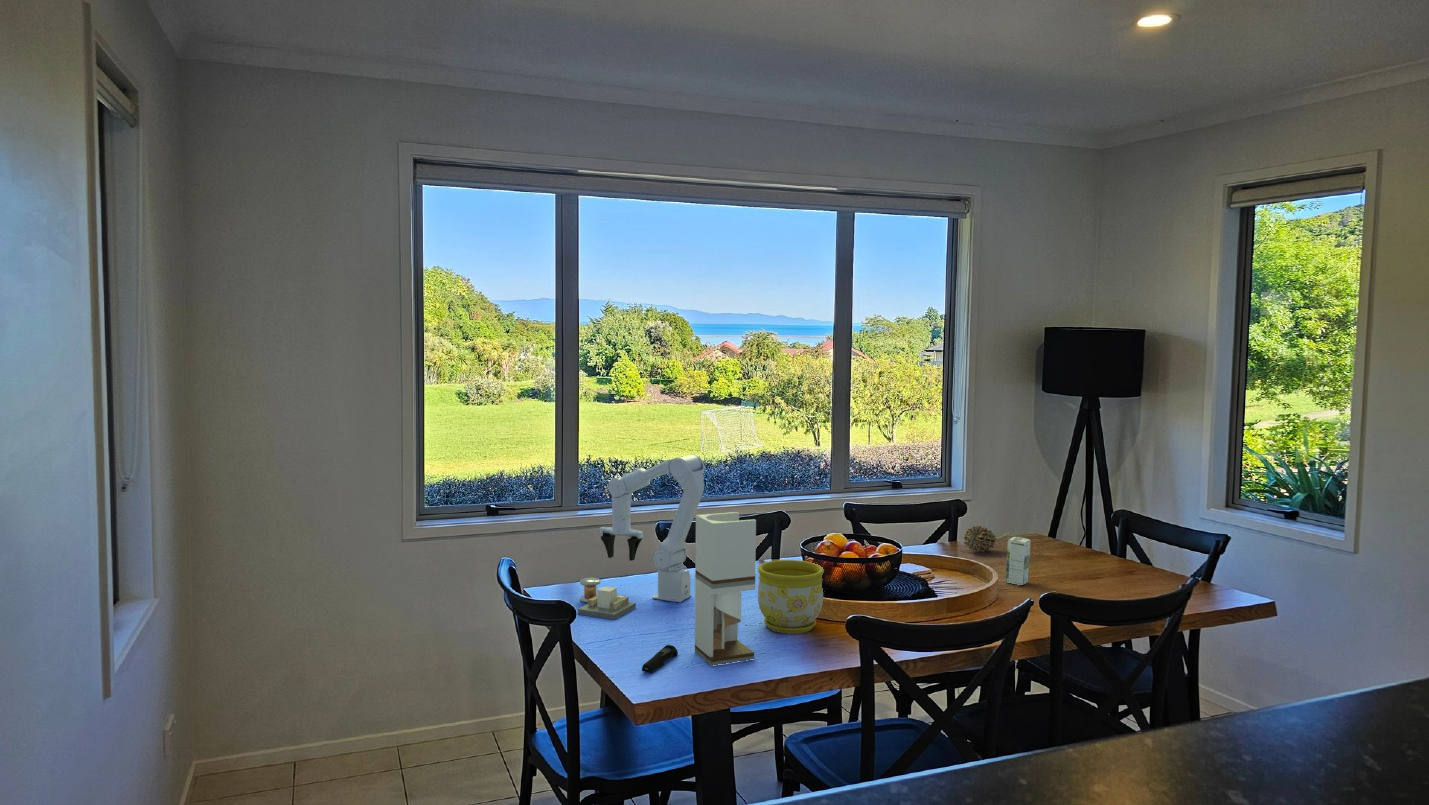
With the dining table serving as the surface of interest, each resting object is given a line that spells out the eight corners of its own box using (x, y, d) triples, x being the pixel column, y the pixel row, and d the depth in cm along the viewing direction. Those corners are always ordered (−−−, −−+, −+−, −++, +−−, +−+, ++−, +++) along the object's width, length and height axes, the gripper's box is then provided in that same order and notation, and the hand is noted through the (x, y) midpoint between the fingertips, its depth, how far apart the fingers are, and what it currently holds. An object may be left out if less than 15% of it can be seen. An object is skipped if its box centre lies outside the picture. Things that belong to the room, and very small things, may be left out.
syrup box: (1011, 579, 300) (1012, 536, 299) (1029, 582, 297) (1030, 538, 296) (1005, 583, 295) (1006, 539, 294) (1023, 586, 292) (1025, 542, 291)
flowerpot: (786, 612, 264) (787, 556, 262) (836, 627, 251) (837, 568, 249) (743, 626, 251) (744, 567, 250) (793, 642, 238) (794, 580, 237)
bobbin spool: (604, 598, 275) (604, 579, 274) (593, 604, 269) (593, 584, 269) (587, 596, 277) (587, 576, 277) (576, 601, 272) (576, 581, 271)
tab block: (616, 605, 264) (616, 588, 263) (609, 608, 260) (609, 591, 260) (604, 603, 265) (604, 586, 265) (597, 607, 262) (597, 589, 261)
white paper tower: (711, 667, 220) (712, 523, 217) (694, 652, 230) (695, 515, 227) (754, 660, 225) (756, 520, 222) (736, 646, 234) (737, 511, 232)
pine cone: (976, 557, 329) (977, 530, 329) (956, 552, 338) (957, 525, 337) (1017, 549, 341) (1018, 523, 341) (996, 544, 350) (997, 519, 349)
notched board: (635, 608, 266) (635, 596, 266) (614, 619, 255) (614, 607, 255) (600, 602, 271) (600, 591, 271) (578, 614, 260) (577, 602, 260)
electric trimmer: (637, 675, 216) (637, 662, 215) (665, 653, 230) (665, 641, 230) (651, 678, 214) (651, 665, 214) (679, 655, 228) (679, 643, 228)
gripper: (594, 515, 284) (594, 558, 285) (635, 520, 278) (635, 564, 279) (606, 511, 290) (606, 554, 291) (646, 516, 284) (646, 559, 285)
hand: (621, 558), depth 285 cm, fingers open, 7 cm apart
